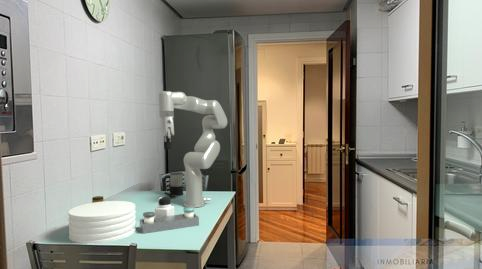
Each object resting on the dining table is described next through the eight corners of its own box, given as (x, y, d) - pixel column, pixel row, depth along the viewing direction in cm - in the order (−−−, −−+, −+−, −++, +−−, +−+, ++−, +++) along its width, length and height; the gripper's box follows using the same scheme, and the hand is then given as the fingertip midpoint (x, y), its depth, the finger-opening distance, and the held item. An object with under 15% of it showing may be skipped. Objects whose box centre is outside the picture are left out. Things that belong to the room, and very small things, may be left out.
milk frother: (181, 192, 242) (181, 171, 241) (187, 197, 227) (186, 174, 227) (161, 194, 236) (160, 173, 236) (165, 199, 222) (165, 176, 221)
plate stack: (83, 224, 170) (82, 201, 169) (141, 222, 172) (141, 199, 171) (57, 245, 142) (56, 217, 141) (127, 242, 144) (126, 215, 143)
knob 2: (192, 220, 171) (192, 206, 171) (195, 223, 167) (195, 208, 166) (182, 222, 169) (182, 207, 169) (185, 224, 164) (185, 210, 164)
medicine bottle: (174, 219, 175) (174, 196, 175) (167, 223, 169) (166, 199, 168) (162, 218, 178) (161, 195, 177) (154, 222, 171) (154, 198, 170)
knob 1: (153, 226, 163) (153, 211, 163) (156, 229, 158) (155, 213, 158) (142, 227, 161) (142, 212, 161) (144, 230, 156) (144, 215, 156)
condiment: (88, 220, 176) (88, 197, 176) (104, 216, 183) (103, 194, 182) (95, 223, 172) (95, 199, 171) (111, 219, 178) (111, 196, 178)
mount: (193, 220, 173) (193, 212, 173) (199, 225, 165) (198, 217, 165) (139, 228, 162) (139, 219, 162) (143, 233, 154) (142, 224, 154)
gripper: (177, 114, 179) (178, 149, 180) (170, 114, 192) (171, 147, 193) (162, 114, 176) (163, 150, 176) (156, 115, 189) (157, 148, 190)
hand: (167, 149), depth 185 cm, fingers closed
